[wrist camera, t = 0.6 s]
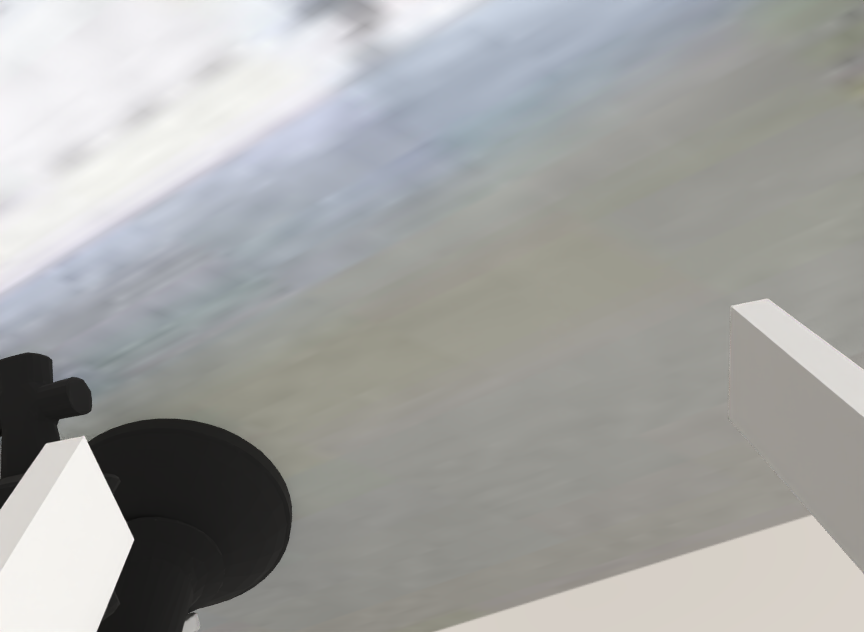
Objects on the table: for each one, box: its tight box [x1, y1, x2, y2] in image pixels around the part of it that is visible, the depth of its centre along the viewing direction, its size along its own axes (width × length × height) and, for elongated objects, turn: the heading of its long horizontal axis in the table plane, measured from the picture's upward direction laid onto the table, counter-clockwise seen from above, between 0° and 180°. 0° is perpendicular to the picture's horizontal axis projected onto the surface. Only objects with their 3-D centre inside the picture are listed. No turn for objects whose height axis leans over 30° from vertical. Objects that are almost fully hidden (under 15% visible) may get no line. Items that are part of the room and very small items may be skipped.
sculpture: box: [0, 353, 292, 632], centre depth 33 cm, size 15×24×25 cm, turn 14°
